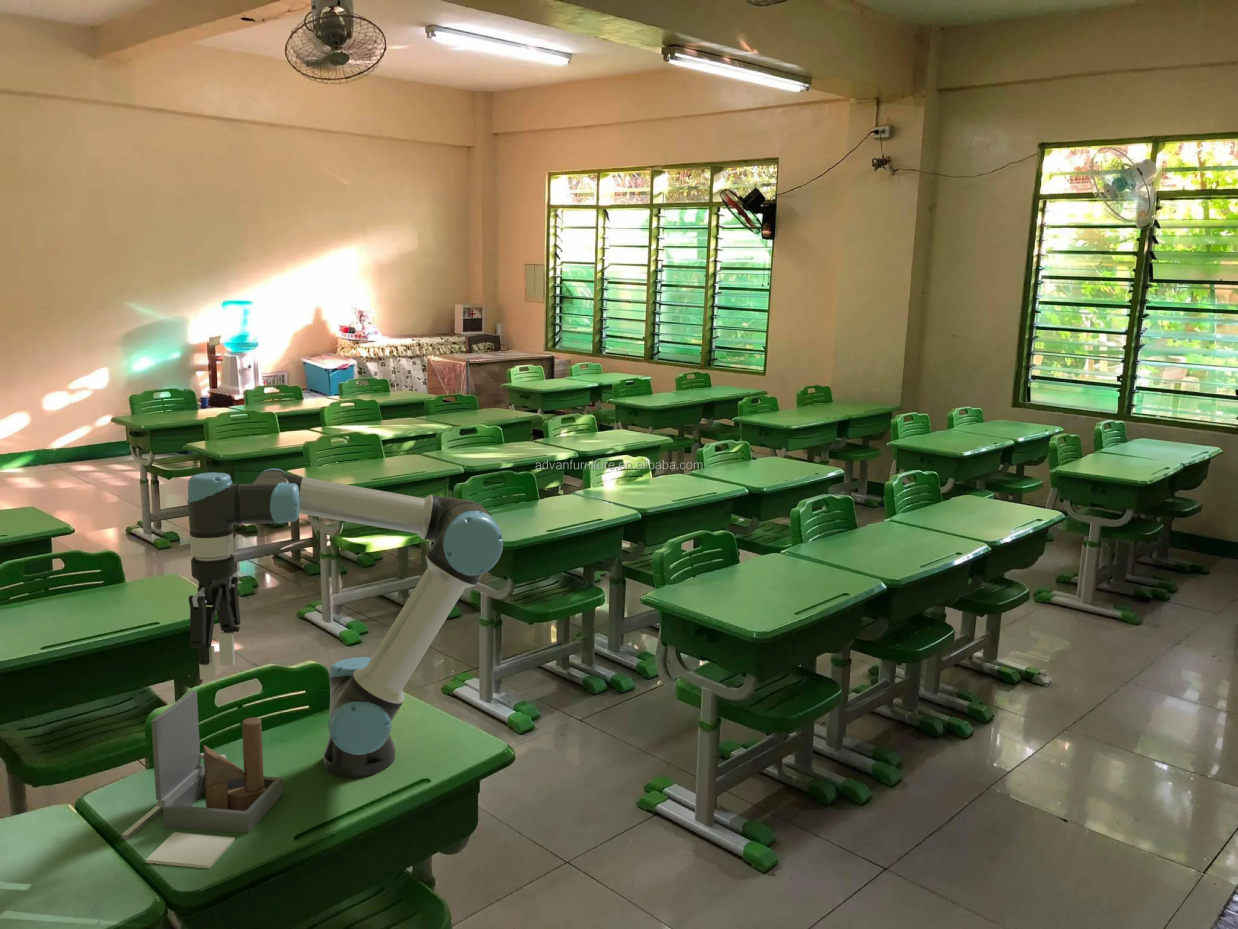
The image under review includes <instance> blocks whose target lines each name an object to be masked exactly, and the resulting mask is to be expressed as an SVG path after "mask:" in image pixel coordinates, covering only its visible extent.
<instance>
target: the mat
mask: <svg viewBox="0 0 1238 929" xmlns="http://www.w3.org/2000/svg"><path fill="white" fill-rule="evenodd" d="M235 840H236V838H235V837H233V836H222V835H221V836H220V835H211V834H209V835H208V834H201V833H199V834H198V833H186V832H172V833H171V835H169V837H167V838H166V839H165V840H164V841H163V842H162V843H161V844H160V845H159V846H158V847H157V848H156V849H155V850H154V851H153V852H152V853H151V854H149V856H148V857H147V858H146V859H145V863H146V864H153V863H155V864H156V865H164V864H165V866H167V865H168V866H177V867H178V866H179V867H189V868H200V869H208V870H209V869H211V868H212V866H214V864H215V863H216V862H217V861H218V860H219V859H220V858H221V857H222V855H224V853H225V852H226V851H227V849H229V847H230V846H231V845H232V844H233V843H234V842H235ZM155 864H154V865H155Z"/></svg>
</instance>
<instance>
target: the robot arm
mask: <svg viewBox="0 0 1238 929" xmlns="http://www.w3.org/2000/svg"><path fill="white" fill-rule="evenodd" d="M187 512H188V524H189V525H188V526H189V535H190V536H189V542H190V543H189V544H190V555H191V556H192V558H191V559H190V566H191V568H190V569H191V571H190V572H191V576H192V578H193V579H195V580H197V582H198V586H197V593H196V594H195V595H189V596H188V604H189V612H190V614H189V616H190V617H189V647H190V648H191V649H193V648H194V649H197V650H198V667H199V679H200V680H201V681H215V680H216V679H217V678H216V658H215V657H216V656H215V646H214V645H212V642H213V633H214V628H215V626H214V625H215V619H216V614H217V619H218V623H219V626H220V630H221V631H220V632H219V633H218V645H219V646H218V647H219V649H218V650H219V665H220V666H226V667H227V666H228V667H229V666H230V667H234V666H235V665H236V652H235V651H236V650H235V633H239V632H240V628H241V627H240V625H241V615H240V606H239V605H240V603H239V592H238V591H239V590H238V585H239V578H238V577H236V576H233V575H234V574H236V573H235V571H236V570H235V567H236V565H235V555H233V554H234V552H235V541H234V525H242V524H243V525H248V524H250V525H251V524H252V525H253V524H283V523H285V524H286V523H292V522H293V523H295V522H296V521H298V520H299V517H300V515H307V516H313V517H318V518H322V519H323V518H324V519H330V520H335V521H336V520H337V521H342V522H348V523H354V524H359V525H364V526H365V525H366V526H370V527H376V528H383V529H389V530H395V531H400V532H406V533H412V534H417V535H418V536H419V537H420V539H421V540H425V541H431V542H433V543H432V545H431V547H430V549H429V550H428V552H427V554H426V555H425V558H426V563H427V568H426V570H425V572H424V573H423V575H422V576H421V577H420V580H419V581H418V583H417V584H416V586H415V588H414V589H413V590H412V592H411V594H410V596H409V597H408V599H407V600H406V602H405V604H404V606H402V608H401V609H400V612H399V614H398V615H397V617H396V618H395V619H394V621H393V623H392V624H391V626H390V628H389V629H388V631H387V632H386V634H385V635H384V638H383V639H382V641H381V642H380V644H379V645H378V647H377V649H376V650H375V652H374V653H373V655H372V657H371V656H361V657H360V656H359V657H350V658H345V659H342V660H341V659H340V660H339V661H336V662H334V663H333V664H332V665H331V666H330V668H329V675H328V679H329V695H330V696H329V698H330V699H329V720H328V726H327V727H328V732H329V738H328V740H327V742H326V747H325V750H324V752H323V768H324V770H325V771H326V772H327V773H328V774H330V775H332V776H335V777H338V778H344V779H357V778H360V779H361V778H364V777H365V778H366V777H370V776H373V775H376V773H377V774H379V773H382V772H384V771H385V770H387V769H388V768H390V767H391V766H392V765H393V764H394V762H395V761H394V760H396V757H395V756H396V746H395V744H394V741H393V739H392V735H391V733H392V732H391V731H392V727H393V726H392V722H393V720H394V718H395V716H396V715H397V713H398V711H399V710H400V708H401V707H402V705H403V704H404V702H405V699H406V698H405V693H404V687H405V686H406V684H407V683H408V681H409V679H410V678H411V676H412V675H413V673H414V671H415V670H416V668H417V666H418V665H419V663H420V662H421V660H422V658H423V657H424V655H425V653H426V652H427V650H428V649H429V648H430V646H431V644H432V643H433V641H434V639H435V638H436V636H437V635H438V632H439V631H440V630H441V628H442V626H443V625H444V623H445V622H446V620H447V619H448V617H449V615H450V614H451V612H452V610H453V609H454V607H455V605H456V604H457V603H458V601H459V599H460V597H461V596H462V594H463V592H464V591H465V590H466V589H468V588H472V587H475V586H476V585H477V584H478V582H479V581H480V579H481V578H482V576H483V574H485V573H487V572H489V571H490V570H491V569H493V567H494V566H495V565H496V564H497V563H498V561H499V560H500V558H501V557H502V556H501V555H502V553H503V549H504V548H503V547H504V539H503V534H502V530H501V528H500V526H499V524H498V522H497V521H496V520H495V518H493V517H492V515H491V513H490V512H489V511H488V510H487V508H485V507H484V506H483V505H481V504H480V503H479V502H476V501H473V500H469V499H462V498H456V497H448V496H447V497H446V496H439V495H434V494H429V495H427V496H426V497H419V496H412V495H407V494H403V493H396V492H390V491H384V490H378V489H374V488H368V487H367V488H366V487H363V486H355V485H351V484H347V483H346V484H345V483H340V482H339V483H338V482H335V481H329V480H324V479H322V480H321V479H317V478H312V477H306V476H298V475H295V474H289V473H287V472H286V471H284V470H282V469H279V468H269V469H265V470H264V471H262V472H260V473H259V474H258V475H257V476H256V478H254V480H253V482H252V483H248V484H247V483H245V484H241V483H240V484H239V483H233V481H232V477H231V475H230V474H229V473H225V472H204V473H203V472H201V473H197V474H194V475H192V476H191V477H190V478H189V479H188V481H187ZM392 763H393V764H392ZM391 764H392V765H391ZM390 765H391V766H390ZM389 766H390V767H389ZM386 768H387V769H386Z"/></svg>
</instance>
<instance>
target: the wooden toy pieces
mask: <svg viewBox="0 0 1238 929" xmlns="http://www.w3.org/2000/svg"><path fill="white" fill-rule="evenodd" d="M241 729H242V730H241V731H242V732H241V733H242V734H241V735H242V754H243V755H242V758H243V768H241V767H239V766H238V765H237V764H235V763H234V762H232V761H230V760H229V759H226V758H227V757H226V758H224V757H223V756H221V755H222V754H220V753H218V752H216V751H215V750H213V749H211V748H210V747H208V746H207V745H205V744H203V746H202V747H203V750H202V751H203V752H202V753H204V759H203V765H204V772H205V808H216V809H228V810H240V811H246V810H247V809H248V808H249V807H250V806H251V805H252V804H253V803H254V802H255V801H256V800H257V799H258V798H259V797H260V795H261V794H262V793H263V792H264V791H265V790H266V789H265V786H264V776H265V774H264V755H263V751H264V750H263V733H262V732H263V730H262V719H261V718H260V717H257V716H256V717H255V716H254V717H247V718H245V719H243V720H242V722H241ZM219 754H220V755H219ZM240 778H244V781H245V787H240V788H236V789H232V790H227V781H231V780H236V779H240Z"/></svg>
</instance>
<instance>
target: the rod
mask: <svg viewBox="0 0 1238 929" xmlns="http://www.w3.org/2000/svg"><path fill="white" fill-rule="evenodd" d="M161 812H163V807H158V804H157V805H155V806H154V807H153V808H151V809H150V810H149V811H148V812H147V813H146V814H145V815H143V816H142V817H141V818H140V819H138V820H137V821H136V822H135V823H134V824H132V825H131V826H130V827H128V828H127V829H126V830H125V831H124V832H122V833H121V835H120V836H121V839H122V840H129V839H130V838H131V837H132V836H133V835H135V834H136V833H137V832H138V831H139V830H141V829H142V828H143V827H144V826H145V825H146V824H148V823H149V822H150V821H151V820H153V819H154V818H155V817H156V816H157V815H158V814H160V813H161ZM141 827H142V828H141ZM140 828H141V829H140Z"/></svg>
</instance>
